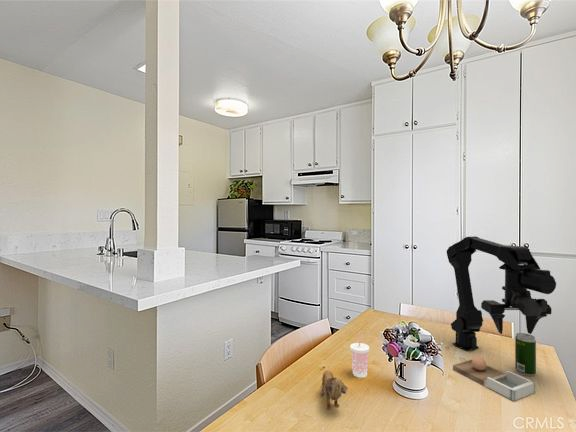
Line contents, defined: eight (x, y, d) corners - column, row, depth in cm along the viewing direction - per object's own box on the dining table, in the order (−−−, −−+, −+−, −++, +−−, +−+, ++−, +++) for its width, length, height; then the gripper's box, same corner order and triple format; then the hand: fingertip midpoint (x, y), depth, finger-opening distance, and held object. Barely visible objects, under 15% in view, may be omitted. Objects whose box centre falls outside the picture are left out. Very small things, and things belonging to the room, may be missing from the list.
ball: (468, 368, 101) (468, 356, 101) (477, 365, 102) (477, 353, 102) (480, 373, 97) (480, 361, 97) (489, 371, 98) (489, 358, 98)
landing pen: (486, 387, 92) (486, 377, 92) (508, 380, 96) (508, 370, 96) (513, 401, 85) (513, 390, 85) (535, 392, 89) (535, 382, 89)
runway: (453, 369, 103) (453, 365, 103) (473, 363, 107) (473, 359, 107) (486, 387, 92) (486, 382, 92) (508, 380, 96) (508, 375, 96)
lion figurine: (350, 415, 80) (349, 380, 80) (331, 418, 79) (330, 383, 79) (329, 384, 95) (329, 355, 94) (313, 387, 93) (312, 357, 93)
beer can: (532, 378, 97) (532, 340, 97) (512, 371, 101) (512, 335, 101) (538, 373, 100) (538, 336, 100) (519, 366, 104) (519, 331, 104)
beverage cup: (372, 373, 101) (372, 331, 101) (363, 381, 96) (363, 336, 96) (356, 367, 105) (356, 326, 105) (346, 374, 100) (346, 331, 100)
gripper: (502, 292, 91) (502, 344, 91) (567, 292, 90) (566, 344, 91) (480, 283, 102) (479, 329, 103) (537, 283, 101) (537, 329, 102)
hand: (514, 333), depth 99 cm, fingers open, 9 cm apart
